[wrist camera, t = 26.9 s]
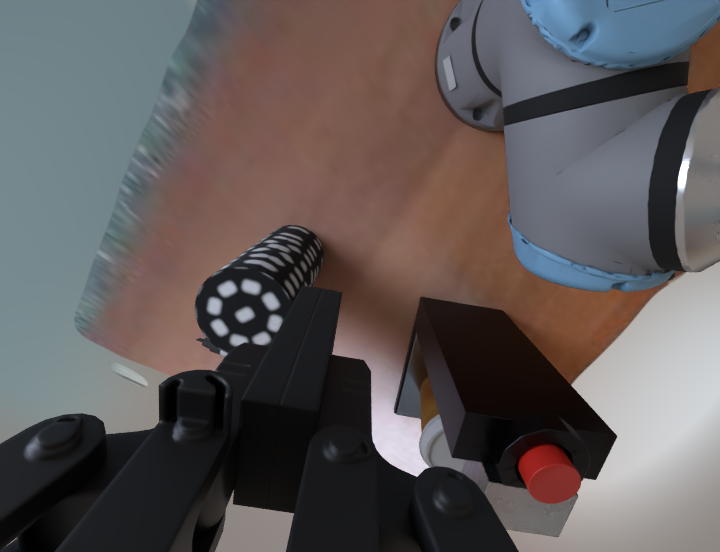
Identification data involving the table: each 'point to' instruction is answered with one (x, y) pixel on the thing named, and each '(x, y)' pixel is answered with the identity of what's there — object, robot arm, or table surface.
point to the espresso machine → (485, 465)
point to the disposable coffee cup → (434, 433)
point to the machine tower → (503, 392)
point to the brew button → (548, 473)
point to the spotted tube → (258, 288)
